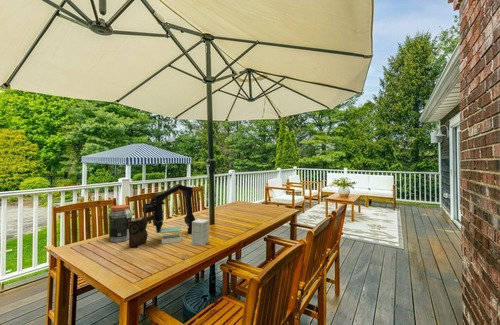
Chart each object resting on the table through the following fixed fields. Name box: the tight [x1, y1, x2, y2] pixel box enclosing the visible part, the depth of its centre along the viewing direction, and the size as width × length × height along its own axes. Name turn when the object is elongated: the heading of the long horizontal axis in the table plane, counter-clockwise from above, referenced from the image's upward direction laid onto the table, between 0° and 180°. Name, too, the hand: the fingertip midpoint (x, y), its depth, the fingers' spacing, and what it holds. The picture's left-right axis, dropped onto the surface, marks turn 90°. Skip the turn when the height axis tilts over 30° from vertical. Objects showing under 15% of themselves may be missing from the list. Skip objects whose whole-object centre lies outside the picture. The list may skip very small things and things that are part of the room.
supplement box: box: [191, 218, 210, 246], centre depth 174 cm, size 10×9×17 cm
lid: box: [155, 226, 182, 234], centre depth 177 cm, size 18×9×5 cm, turn 110°
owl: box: [128, 216, 149, 249], centre depth 170 cm, size 13×13×20 cm
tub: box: [161, 233, 182, 245], centre depth 178 cm, size 14×9×4 cm, turn 110°
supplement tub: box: [108, 204, 133, 243], centre depth 184 cm, size 16×16×26 cm
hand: (158, 231), depth 174 cm, fingers closed on lid, 4 cm apart
